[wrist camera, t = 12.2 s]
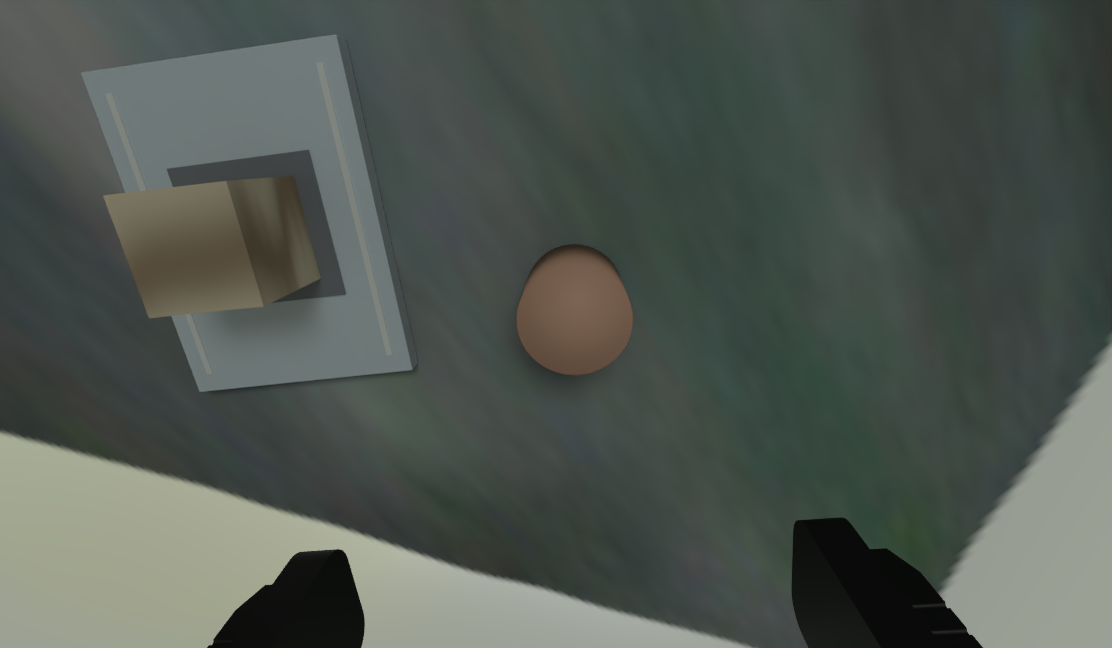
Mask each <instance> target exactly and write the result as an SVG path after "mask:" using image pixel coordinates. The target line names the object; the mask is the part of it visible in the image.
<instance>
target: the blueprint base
mask: <svg viewBox="0 0 1112 648" xmlns="http://www.w3.org/2000/svg"><path fill="white" fill-rule="evenodd" d="M81 74H82V77H83V80H84V82H85V85H86V88H87V91H88V93H89V96H90V99H91V101H92V104H93V107H94V109H95V112H96V115H97V117H98V120H99V123H100V125H101V128H102V131H103V134H104V136H105V139H106V142H107V144H108V147H109V150H110V152H111V155H112V158H113V160H114V163H115V166H116V168H117V171H118V174H119V177H120V179H121V182H122V185H123V187H124V190H125V193H128V192H136V191H145V190H153V189H162V188H170V187H179V186H187V185H195V184H204V183H212V182H221V181H231V180H244V179H257V178H270V177H283V176H294V177H295V181H296V185H297V189H298V193H299V196H300V200H301V204H302V208H303V212H304V216H305V220H306V223H307V227H308V231H309V235H310V239H311V243H312V247H313V250H314V254H315V258H316V262H317V266H318V270H319V274H320V277H321V279H319V280H317V281H315V282H313V283H311V284H309V285H307V286H305V287H302V288H300V289H298V290H296V291H294V292H292V293H290V294H288V295H286V296H284V297H282V298H280V299H278V300H276V301H274V302H272V303H270V304H268V305H266V306H264V307H254V308H244V309H234V310H224V311H215V312H205V313H195V314H185V315H175V316H172V319H173V322H174V324H175V327H176V330H177V332H178V335H179V338H180V340H181V343H182V346H183V349H184V351H185V354H186V357H187V359H188V362H189V365H190V367H191V370H192V373H193V375H194V378H195V381H196V383H197V386H198V389H199V391H200V392H203V391H213V390H223V389H232V388H242V387H252V386H262V385H271V384H281V383H291V382H301V381H310V380H320V379H330V378H340V377H349V376H359V375H369V374H379V373H388V372H398V371H408V370H413V369H414V367H415V366H416V365H417V363H418V361H417V357H416V352H415V348H414V343H413V339H412V334H411V330H410V325H409V321H408V316H407V312H406V307H405V303H404V298H403V294H402V289H401V285H400V280H399V276H398V271H397V267H396V262H395V258H394V253H393V249H392V244H391V240H390V235H389V231H388V226H387V222H386V217H385V213H384V208H383V204H382V199H381V195H380V190H379V186H378V181H377V177H376V172H375V168H374V164H373V159H372V155H371V150H370V146H369V141H368V137H367V132H366V128H365V123H364V119H363V114H362V110H361V105H360V101H359V96H358V92H357V87H356V83H355V78H354V74H353V69H352V65H351V60H350V56H349V51H348V47H347V42H346V39H344V38H342V37H340V36H338V35H336V34H335V35H329V36H322V37H315V38H309V39H302V40H295V41H289V42H282V43H275V44H269V45H262V46H255V47H249V48H242V49H235V50H229V51H222V52H215V53H209V54H202V55H195V56H189V57H182V58H175V59H169V60H162V61H155V62H149V63H142V64H135V65H129V66H122V67H115V68H109V69H102V70H95V71H89V72H82V73H81Z"/></svg>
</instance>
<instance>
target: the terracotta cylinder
mask: <svg viewBox="0 0 1112 648" xmlns="http://www.w3.org/2000/svg"><path fill="white" fill-rule="evenodd" d="M632 326H633V314H632V308H631V304H630V301H629V298H628V296H627V293H626V291H625V288H624V285H623V283H622V280H621V278H620V275H619V273H618V271H617V269H616V267H615V266H614V264H613V263H612V262H611V260H610V259H609V258H608V257H607V256H605V255H604V254H603V253H601V252H600V251H598V250H596V249H594V248H591V247H589V246H584V245H577V244H573V245H565V246H561V247H557V248H555V249H553V250H551V251H549V252H548V253H546V254H545V255H543V256H542V257H541V258H540V259H539V260H538V261H537V262H536V264H535V265H534V267H533V268H532V270H531V272H530V275H529V278H528V280H527V283H526V286H525V289H524V291H523V294H522V297H521V300H520V303H519V306H518V310H517V329H518V334H519V337H520V340H521V342H522V344H523V346H524V348H525V349H526V351H527V352H528V353H529V355H530V356H531V357H532V358H533V359H534V360H535V361H537V362H538V363H539V364H540V365H542V366H544V367H545V368H547V369H549V370H551V371H554V372H557V373H561V374H566V375H583V374H589V373H592V372H595V371H598V370H600V369H602V368H604V367H606V366H607V365H609V364H610V363H612V362H613V361H614V360H615V359H616V358H617V357H618V356H619V355H620V354H621V353H622V351H623V350H624V348H625V347H626V345H627V343H628V341H629V338H630V335H631V332H632Z"/></svg>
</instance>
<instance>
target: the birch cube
mask: <svg viewBox="0 0 1112 648" xmlns="http://www.w3.org/2000/svg"><path fill="white" fill-rule="evenodd" d="M103 197H104V199H105V202H106V205H107V207H108V210H109V213H110V215H111V218H112V221H113V223H114V226H115V229H116V231H117V234H118V237H119V239H120V242H121V245H122V247H123V250H124V253H125V255H126V258H127V261H128V263H129V266H130V269H131V271H132V274H133V277H134V279H135V282H136V285H137V287H138V290H139V293H140V295H141V298H142V301H143V303H144V306H145V309H146V311H147V314H148V317H149V318H155V317H165V316H175V315H185V314H195V313H205V312H215V311H224V310H234V309H244V308H254V307H264V306H266V305H268V304H270V303H272V302H274V301H276V300H278V299H280V298H282V297H284V296H286V295H288V294H290V293H292V292H294V291H296V290H298V289H300V288H302V287H305V286H307V285H309V284H311V283H313V282H315V281H317V280H319V279H321V277H320V274H319V270H318V266H317V262H316V258H315V254H314V250H313V247H312V243H311V239H310V235H309V231H308V227H307V223H306V220H305V216H304V212H303V208H302V204H301V200H300V196H299V193H298V189H297V185H296V181H295V177H294V176H283V177H270V178H257V179H244V180H231V181H221V182H212V183H204V184H195V185H187V186H179V187H170V188H162V189H153V190H145V191H136V192H128V193H120V194H111V195H103Z"/></svg>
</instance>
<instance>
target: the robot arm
mask: <svg viewBox="0 0 1112 648" xmlns="http://www.w3.org/2000/svg"><path fill="white" fill-rule="evenodd" d="M792 600H793V606H794V611H795V615H796V619H797V622H798V625H799V628H800V630H801V632H802V635H803V637H804V639H805V641H806V643H807V645H808V648H983V647H982V646H981V645H980V644H979V642H978V641H977V640H976V639H975V638H974V637H973V635H969V634H968V632H967V629H966V627H965V626H964V624H963V623H962V622H961V621H960V620H959V618H958V617H957V616H956V615H955V614H954V612H953V611H952V610H951V609H950V608H947V607H946V605H945V601H944V600H943V599H942V598H941V597H940V595H939V594H938V593H937V592H936V591H935V589H934V588H933V587H932V586H931V585H930V583H929V582H928V581H927V580H926V578H925V577H924V576H923V575H922V574H921V572H919V571H918V570H916V569H915V568H914V567H912V566H911V565H909V564H908V563H907V562H905V561H904V560H902V559H901V558H899V557H898V556H897V555H895V554H894V553H892V552H891V551H889V550H888V549H887V548H886V549H869V548H868V546H867V545H866V544H865V542H864V541H863V540H862V538H861V537H860V536H859V534H858V533H857V531H856V530H855V529H854V527H853V526H852V525H851V524H850V522H849V521H848V520H846V519H845V518H826V519H811V520H798V521H796V522H795V524H794V530H793V559H792ZM364 624H365V623H364V614H363V610H362V606H361V603H360V600H359V596H358V592H357V589H356V586H355V582H354V579H353V575H352V572H351V568H350V565H349V562H348V559H347V556H346V554H345V553H344V552H343V551H342V550H339V549H338V550H323V551H308V552H299V553H297V554H295V555H294V556H293V557H292V558H291V559H290V561H289V562H288V564H287V565H286V566H285V568H284V569H283V571H282V572H281V573H280V575H279V576H278V577H277V579H276V580H275V582H274V583H273V584H272V585H265V586H264V587H262V588H261V589H260V590H259V591H258V592H257V593H255V594H254V595H253V596H252V597H251V598H249V599H248V600H247V601H246V602H245V603H244V604H242V605H241V606H240V607H239V608H238V609H237V610H235V612H234V613H233V614H232V616H231V617H230V618H229V620H228V621H227V622H226V624H225V625H224V626H223V628H222V629H221V630H220V632H219V633H218V634H217V635H216V637H215V638H214V642H213V645H209V646H208V647H207V648H361V646H362V642H363V636H364V626H365V625H364Z"/></svg>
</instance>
